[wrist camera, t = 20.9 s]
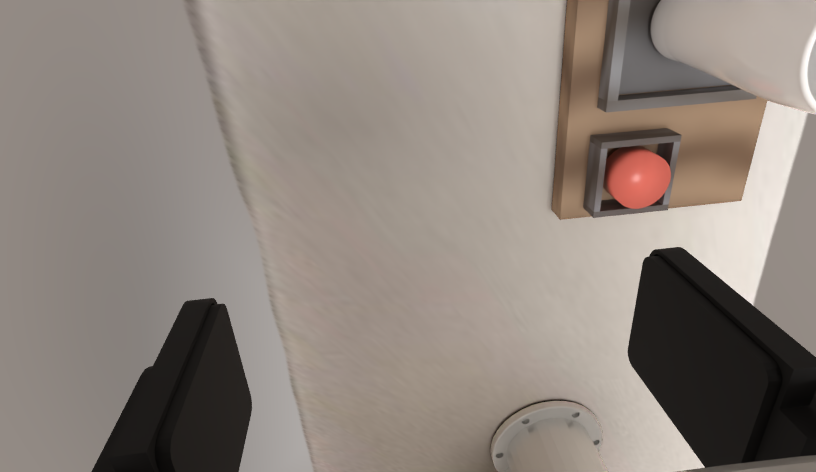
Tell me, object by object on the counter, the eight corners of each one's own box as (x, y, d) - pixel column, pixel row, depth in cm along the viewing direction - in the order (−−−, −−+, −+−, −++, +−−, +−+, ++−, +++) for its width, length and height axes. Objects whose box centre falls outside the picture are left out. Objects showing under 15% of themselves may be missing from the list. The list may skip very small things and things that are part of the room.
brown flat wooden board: (726, 191, 46) (757, 210, 42) (551, 209, 45) (569, 230, 41) (796, -101, 36) (846, -109, 32) (573, -86, 35) (599, -93, 31)
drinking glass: (671, 88, 39) (840, 149, 26) (617, 25, 36) (774, 56, 23) (746, 14, 37) (971, 39, 24) (695, -58, 34) (915, -76, 21)
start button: (649, 194, 42) (665, 205, 40) (597, 199, 42) (610, 211, 40) (658, 142, 40) (675, 151, 38) (603, 147, 40) (618, 157, 38)
